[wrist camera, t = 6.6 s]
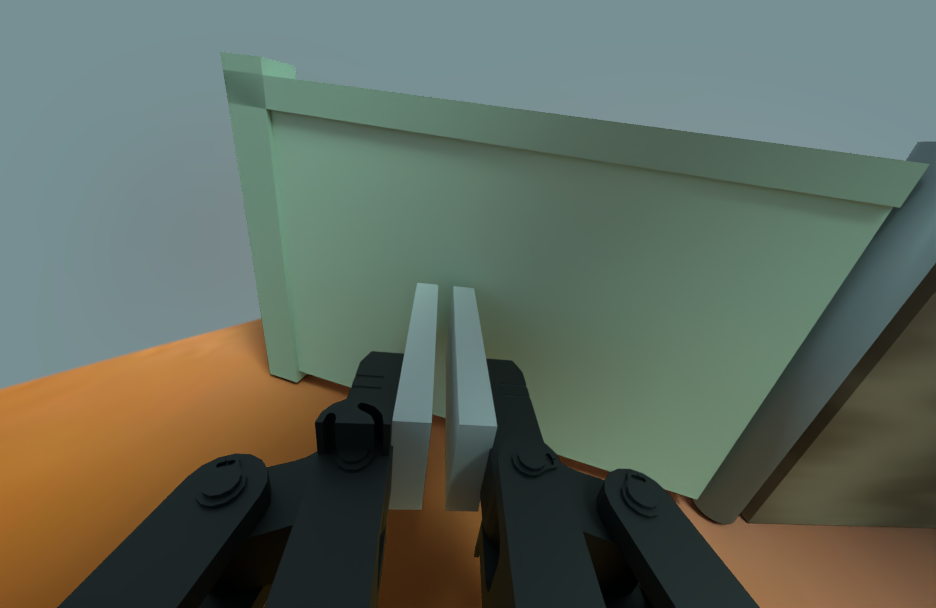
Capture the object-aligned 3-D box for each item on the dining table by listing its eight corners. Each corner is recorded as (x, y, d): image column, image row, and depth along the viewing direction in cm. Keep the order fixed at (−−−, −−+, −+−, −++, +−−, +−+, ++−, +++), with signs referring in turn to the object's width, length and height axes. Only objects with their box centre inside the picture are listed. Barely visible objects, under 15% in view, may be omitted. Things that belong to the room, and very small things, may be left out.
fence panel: (727, 494, 15) (974, 151, 9) (742, 530, 14) (1048, 152, 7) (292, 356, 19) (258, 61, 13) (270, 373, 18) (220, 51, 12)
